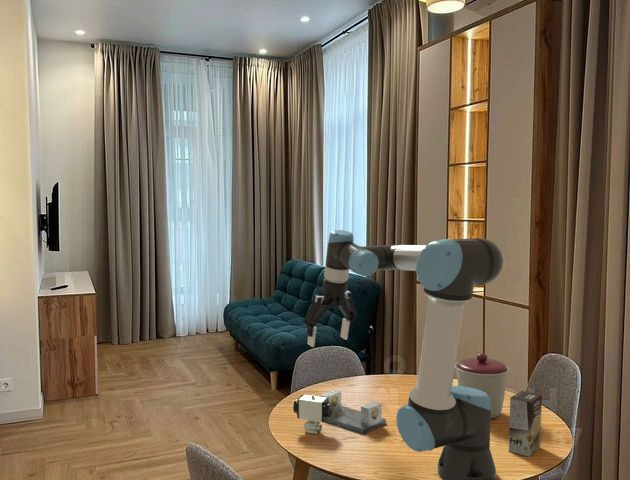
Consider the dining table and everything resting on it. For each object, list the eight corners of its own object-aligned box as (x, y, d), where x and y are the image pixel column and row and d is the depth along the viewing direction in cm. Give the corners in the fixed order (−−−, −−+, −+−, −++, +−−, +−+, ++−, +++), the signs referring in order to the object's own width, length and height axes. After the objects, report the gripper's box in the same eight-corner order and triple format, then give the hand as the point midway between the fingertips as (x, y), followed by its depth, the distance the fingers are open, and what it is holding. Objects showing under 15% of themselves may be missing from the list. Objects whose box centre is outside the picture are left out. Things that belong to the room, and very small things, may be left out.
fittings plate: (386, 423, 196) (386, 401, 196) (363, 434, 188) (363, 410, 187) (338, 408, 210) (338, 388, 209) (315, 418, 201) (315, 396, 200)
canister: (490, 402, 216) (491, 345, 215) (519, 421, 199) (521, 358, 197) (444, 407, 212) (445, 348, 210) (470, 426, 194) (471, 362, 193)
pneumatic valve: (327, 437, 185) (327, 399, 184) (293, 432, 189) (292, 395, 188) (333, 431, 190) (333, 394, 189) (299, 426, 194) (299, 389, 193)
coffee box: (529, 457, 171) (531, 402, 170) (508, 451, 175) (509, 397, 174) (540, 447, 178) (542, 394, 177) (519, 441, 182) (521, 389, 181)
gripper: (357, 271, 198) (349, 330, 203) (296, 279, 183) (289, 343, 188) (373, 278, 192) (364, 339, 197) (310, 287, 177) (303, 353, 182)
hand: (327, 341), depth 193 cm, fingers open, 13 cm apart
